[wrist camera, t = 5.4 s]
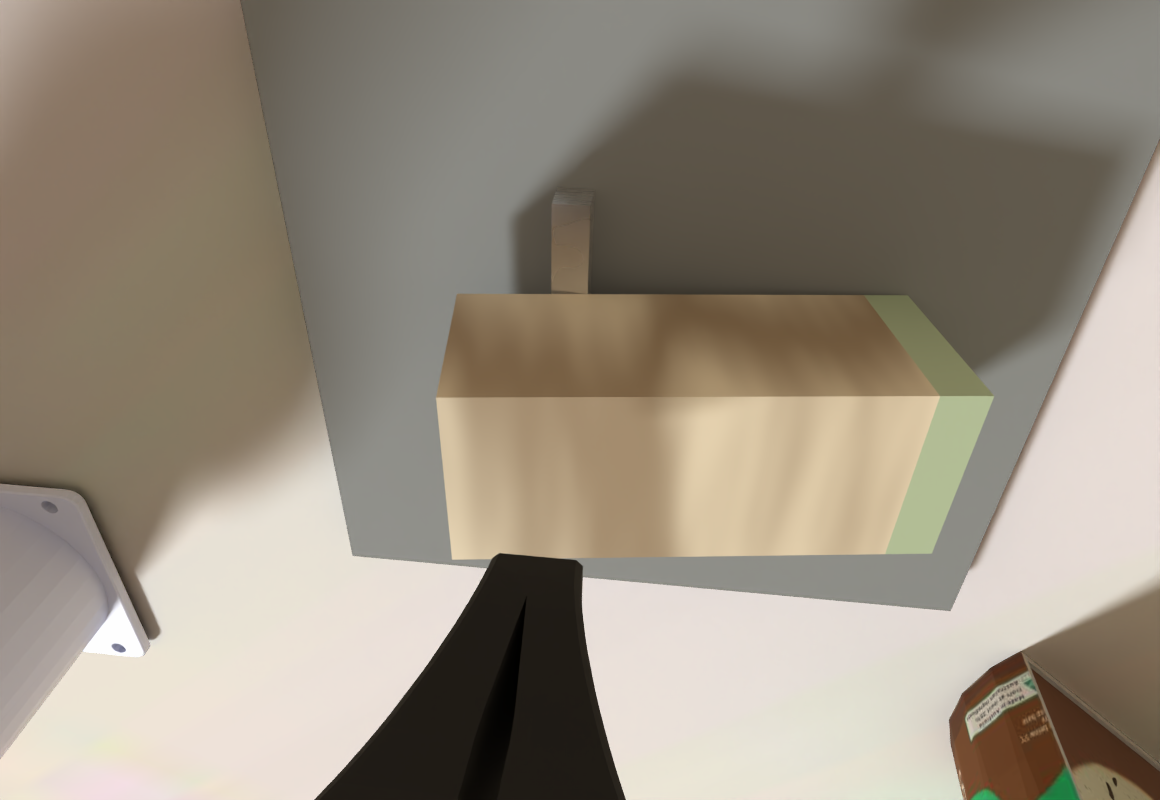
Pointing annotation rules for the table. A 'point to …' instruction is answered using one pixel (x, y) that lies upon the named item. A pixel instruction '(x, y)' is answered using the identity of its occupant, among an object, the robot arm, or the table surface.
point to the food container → (1042, 742)
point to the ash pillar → (701, 425)
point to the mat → (696, 205)
